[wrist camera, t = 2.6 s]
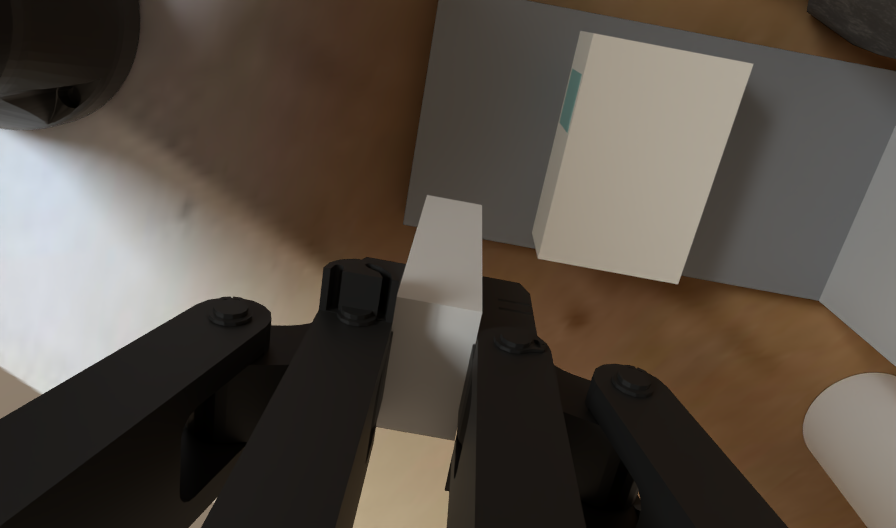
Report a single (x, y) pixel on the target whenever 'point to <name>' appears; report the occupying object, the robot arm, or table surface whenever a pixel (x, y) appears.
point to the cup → (858, 443)
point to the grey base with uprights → (739, 172)
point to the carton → (635, 155)
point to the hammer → (860, 22)
